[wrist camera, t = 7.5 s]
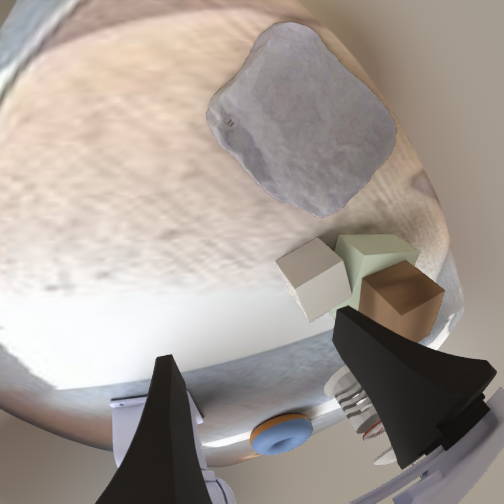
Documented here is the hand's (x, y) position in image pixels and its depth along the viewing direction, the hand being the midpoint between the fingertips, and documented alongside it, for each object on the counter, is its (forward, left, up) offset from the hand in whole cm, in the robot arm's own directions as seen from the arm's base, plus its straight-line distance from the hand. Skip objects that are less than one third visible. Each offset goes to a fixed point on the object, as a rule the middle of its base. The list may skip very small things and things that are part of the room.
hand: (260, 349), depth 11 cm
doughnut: (+4, -34, -11) cm, 35 cm away
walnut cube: (+13, -6, -7) cm, 16 cm away
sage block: (+13, -6, -11) cm, 18 cm away
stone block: (+6, +8, -11) cm, 15 cm away
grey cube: (+7, -4, -10) cm, 13 cm away
